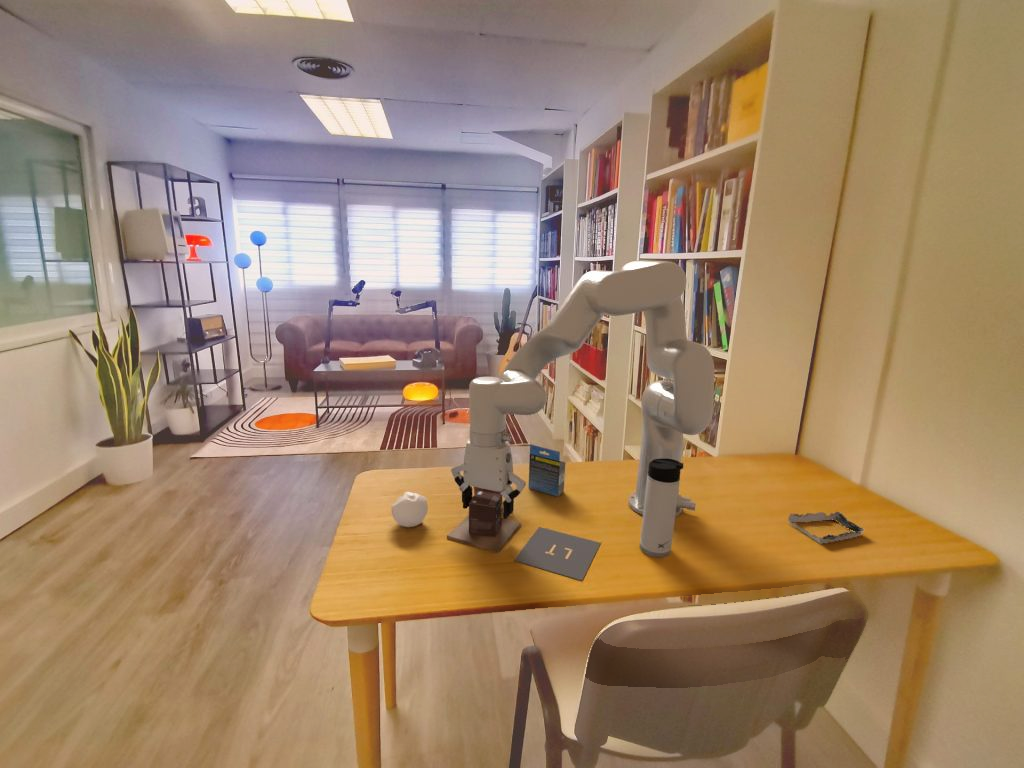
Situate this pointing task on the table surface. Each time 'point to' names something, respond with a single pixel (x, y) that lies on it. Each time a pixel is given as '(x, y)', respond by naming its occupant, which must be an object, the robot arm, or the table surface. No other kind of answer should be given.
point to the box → (485, 514)
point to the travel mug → (660, 507)
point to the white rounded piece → (409, 509)
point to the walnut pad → (482, 541)
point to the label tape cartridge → (546, 471)
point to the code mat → (558, 553)
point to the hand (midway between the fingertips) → (487, 510)
